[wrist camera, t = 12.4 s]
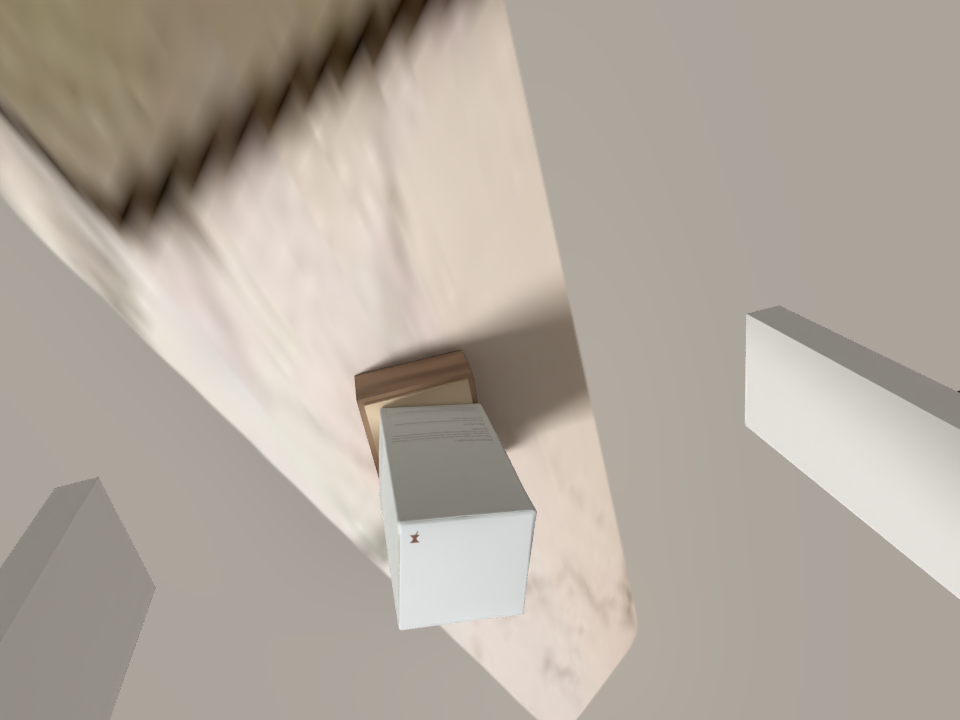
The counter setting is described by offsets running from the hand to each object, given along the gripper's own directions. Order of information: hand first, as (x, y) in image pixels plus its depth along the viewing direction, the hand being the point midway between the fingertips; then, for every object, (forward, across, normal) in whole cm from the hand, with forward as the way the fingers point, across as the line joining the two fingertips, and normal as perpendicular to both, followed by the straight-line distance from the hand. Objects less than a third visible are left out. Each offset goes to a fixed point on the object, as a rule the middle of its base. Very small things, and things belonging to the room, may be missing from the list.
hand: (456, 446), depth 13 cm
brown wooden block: (+32, 0, -17) cm, 36 cm away
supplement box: (+28, 0, -17) cm, 32 cm away
